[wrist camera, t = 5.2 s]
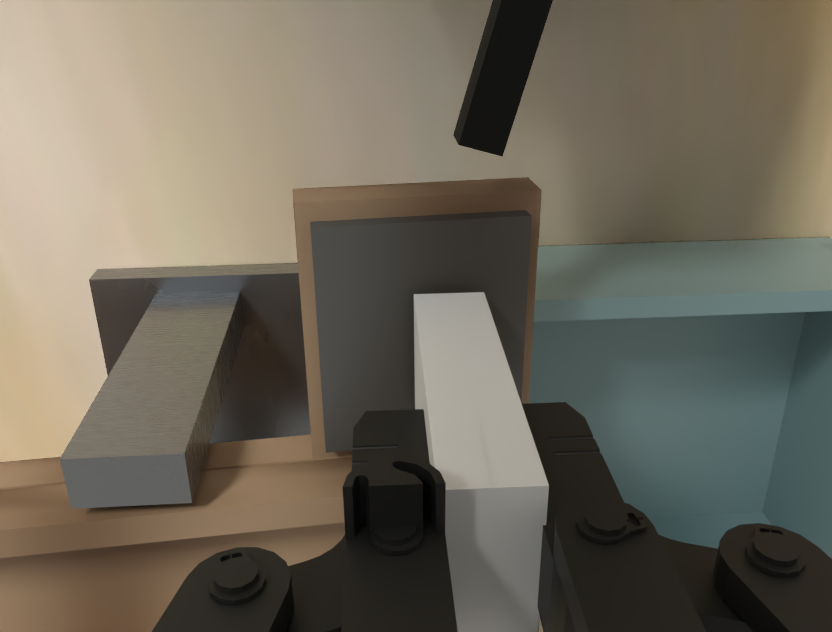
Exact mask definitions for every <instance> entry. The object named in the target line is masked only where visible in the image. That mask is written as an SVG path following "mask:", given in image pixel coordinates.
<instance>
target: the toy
mask: <svg viewBox="0 0 832 632" xmlns="http://www.w3.org/2000/svg"><path fill="white" fill-rule="evenodd" d="M552 1H553V0H493V2H492V5H491V9H490V12H489V16H488V19H487V22H486V26H485V29H484V33H483V36H482V39H481V43H480V46H479V50H478V53H477V56H476V60H475V63H474V67H473V70H472V74H471V77H470V80H469V84H468V87H467V91H466V94H465V97H464V101H463V104H462V108H461V111H460V114H459V118H458V121H457V125H456V128H455V131H454V137H455V139H456V141H457V143H458V145H461V146H465V147H469V148H473V149H477V150H480V151H484V152H488V153H492V154H495V155H499V156H503V153H504V150H505V147H506V144H507V141H508V137H509V134H510V131H511V128H512V125H513V122H514V119H515V116H516V113H517V110H518V106H519V103H520V100H521V97H522V94H523V91H524V88H525V85H526V82H527V79H528V75H529V72H530V69H531V66H532V63H533V60H534V57H535V54H536V51H537V47H538V44H539V41H540V38H541V35H542V32H543V29H544V26H545V23H546V20H547V16H548V13H549V10H550V7H551V4H552Z"/></svg>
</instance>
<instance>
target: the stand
mask: <svg viewBox="0 0 832 632" xmlns="http://www.w3.org/2000/svg"><path fill="white" fill-rule="evenodd" d="M89 282H90V287H91V292H92V297H93V302H94V307H95V312H96V317H97V322H98V328H99V333H100V338H101V343H102V348H103V353H104V358H105V363H106V368H107V374H108V377H107V379H106V381H105V382H104V384H103V386H102V387H101V389H100V391H99V393H98V394H97V396H96V398H95V399H94V401H93V403H92V405H91V406H90V408H89V410H88V412H87V413H86V415H85V417H84V418H83V420H82V422H81V424H80V425H79V427H78V429H77V430H76V432H75V434H74V436H73V437H72V439H71V441H70V442H69V444H68V446H67V448H66V449H65V451H64V453H63V454H62V456H61V458H60V463H61V467H62V471H63V475H64V480H65V484H66V488H67V492H68V496H69V501H70V505H71V509H77V508H98V507H118V506H139V505H160V504H181V503H192V502H193V498H194V495H195V492H196V488H197V485H198V482H199V478H200V475H201V471H202V468H203V465H204V461H205V458H206V455H207V451H208V448H209V445H210V444H211V443H223V442H234V441H245V440H256V439H267V438H278V437H290V436H301V435H311V429H310V416H309V403H308V389H307V376H306V363H305V350H304V337H303V324H302V310H301V297H300V284H299V271H298V263H286V264H255V265H223V266H192V267H160V268H129V269H97V271H96V272H95V273H94V274H93V276H92V277H91V278H90V279H89Z"/></svg>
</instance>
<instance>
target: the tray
mask: <svg viewBox="0 0 832 632" xmlns="http://www.w3.org/2000/svg"><path fill="white" fill-rule="evenodd" d="M554 402H566V403H567V404H569V405H570V406H571V407H572V408H574V409H575V410H576V411H577V412H579V413H580V414H581V415H582V416H584V417H585V419H586V421H587V423H588V425H589V428H590V430H591V432H592V434H593V439H595V440H596V443H597V445H598V447H599V449H600V454H602V456H603V458H604V460H605V462H606V464H607V466H608V469H609V471H610V473H611V475H612V477H613V479H614V481H615V484H616V486H617V488H618V490H619V492H620V494H621V497H622V499H623V501H624V503H627V504H630V505H632V506H633V507H635V508H636V509H638V510H639V511H641V512H643V513H644V514H645V515H646V516H647V518H648V519H649V520H650V521H651V523H652V524H653V525H654V527H655V529H656V531H657V533H658V534H659V535H661V536H664V537H666V538H669V539H672V540H676V541H680V542H684V543H690V544H695V545H701V546H706V547H712V548H717V549H718V547H719V541H720V539H721V538H722V536H723V535H724V534H725V532H726V531H727V530H729V529H731V528H734V527H736V526H738V525H740V524H753V523H762V524H768V525H773V526H779V527H782V528H785V529H787V530H790V531H792V532H795V533H797V534H800V535H802V536H803V537H805V538H806V539H807V540H809V541H810V542H812V543H813V544H815V545H816V546H818V547H819V548H820V549H821V550H822V551H823V552H825V553H826V554H827V555H828V556H829V557H830V558H831V559H832V239H831V238H830V237H817V238H785V239H753V240H721V241H689V242H656V243H624V244H592V245H560V246H538V256H537V273H536V290H535V307H534V324H533V341H532V358H531V375H530V392H529V403H554Z"/></svg>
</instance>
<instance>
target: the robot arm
mask: <svg viewBox="0 0 832 632" xmlns="http://www.w3.org/2000/svg"><path fill="white" fill-rule="evenodd" d="M414 368H415V409H412V410H383V411H366V412H365V413H364V414H363V416H362V417H361V418H360V420H359V421H358V422H357V424H356V425H355V426H354V427H353V450H352V471H351V472H350V473H349V474H348V475H347V477H346V479H345V482H344V484H343V504H344V521H345V535H344V536H343V538H342V540H341V541H340V542H339V543H337V544H336V545H335V546H334V547H333V548H332V549H330V550H329V551H327V552H325V553H324V554H322V555H320V556H318V557H315V558H313V559H310V560H307V561H304V562H301V563H297V564H294V565H290V566H288V565H287V563H286V561H285V560H283V559H282V558H281V557H280V556H278V555H277V554H276V553H275V552H272V551H269V550H265V549H262V548H258V547H236V548H233V549H229V550H225V551H222V552H218V553H216V554H214V555H212V556H211V557H209V558H207V559H205V560H203V561H202V562H200V563H199V564H198V565H197V566H196V567H195V568H194V569H193V570H192V571H191V572H190V574H189V575H188V576H187V577H186V579H185V580H184V582H183V583H182V585H181V587H180V588H179V590H178V591H177V593H176V594H175V596H174V597H173V599H172V601H171V602H170V604H169V605H168V607H167V608H166V610H165V612H164V613H163V615H162V616H161V618H160V619H159V621H158V622H157V624H156V626H155V627H154V629H153V630H152V632H539V620H540V619H541V623H542V627H543V631H544V632H832V559H831V558H830V557H829V556H828V555H827V554H826V553H825V552H823V551H822V550H821V549H820V548H819V547H818V546H816V545H815V544H813V543H812V542H810V541H809V540H807V539H806V538H805V537H803V536H802V535H800V534H797V533H795V532H792V531H790V530H787V529H785V528H782V527H779V526H773V525H768V524H762V523H753V524H740V525H738V526H736V527H734V528H731V529H729V530H727V531H726V532H725V534H724V535H723V536H722V538H721V539H720V541H719V547H718V549H717V548H712V547H706V546H701V545H695V544H690V543H684V542H680V541H676V540H672V539H669V538H666V537H664V536H661V535H659V534H658V533H657V531H656V529H655V527H654V525H653V524H652V523H651V521H650V520H649V519H648V518H647V516H646V515H645V514H644V513H643V512H641V511H639V510H638V509H636V508H635V507H633V506H632V505H630V504H627V503H624V501H623V499H622V497H621V494H620V492H619V490H618V488H617V486H616V484H615V481H614V479H613V477H612V475H611V473H610V471H609V469H608V466H607V464H606V462H605V460H604V458H603V456H602V454H600V449H599V447H598V445H597V443H596V440H595V439H593V434H592V432H591V430H590V428H589V425H588V423H587V421H586V419H585V417H584V416H582V415H581V414H580V413H579V412H577V411H576V410H575V409H574V408H572V407H571V406H570V405H569V404H567V403H566V402H554V403H525V404H521V401H520V398H519V395H518V392H517V389H516V386H515V383H514V380H513V377H512V374H511V371H510V368H509V365H508V362H507V359H506V356H505V353H504V350H503V347H502V344H501V341H500V338H499V335H498V332H497V329H496V326H495V323H494V320H493V317H492V314H491V311H490V308H489V305H488V302H487V299H486V296H485V293H484V292H472V293H438V294H414Z"/></svg>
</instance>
